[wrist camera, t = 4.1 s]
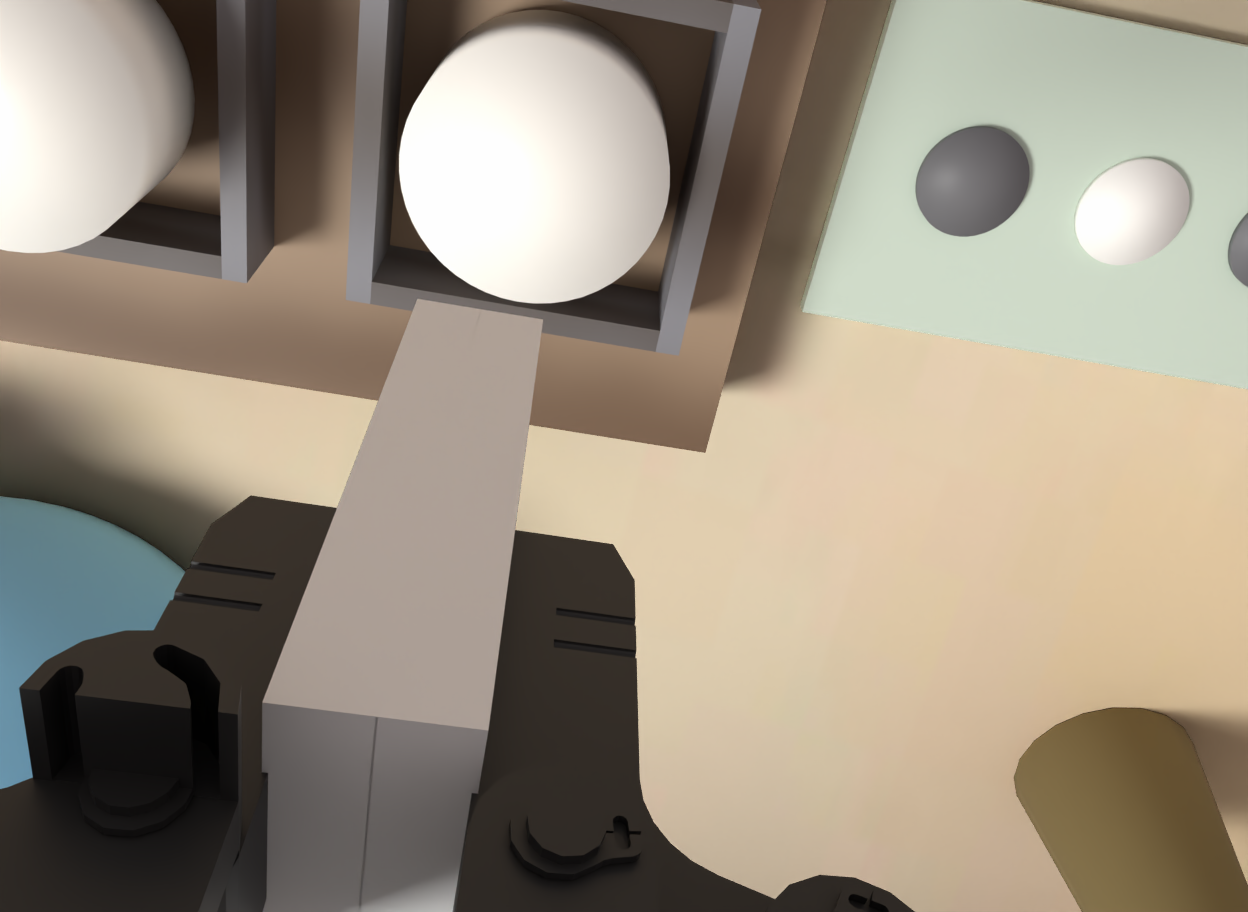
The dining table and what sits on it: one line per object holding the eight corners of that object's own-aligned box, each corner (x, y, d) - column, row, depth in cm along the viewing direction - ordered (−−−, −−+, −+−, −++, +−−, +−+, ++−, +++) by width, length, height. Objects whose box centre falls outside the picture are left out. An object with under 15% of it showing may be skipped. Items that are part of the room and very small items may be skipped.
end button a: (640, 273, 23) (642, 322, 21) (412, 232, 23) (390, 279, 21) (689, 37, 21) (696, 67, 19) (432, -14, 20) (409, 11, 18)
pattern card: (1302, 392, 29) (1315, 403, 28) (799, 305, 27) (803, 315, 27) (1484, 93, 25) (1502, 100, 24) (899, -28, 23) (905, -23, 23)
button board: (698, 393, 29) (710, 499, 25) (-418, 209, 26) (-617, 293, 22) (851, -207, 21) (906, -200, 17) (-687, -550, 19) (-1068, -641, 15)
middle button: (198, 225, 21) (151, 274, 19) (-63, 179, 21) (-141, 226, 19) (190, -45, 19) (134, -21, 17) (-110, -104, 18) (-206, -86, 16)
